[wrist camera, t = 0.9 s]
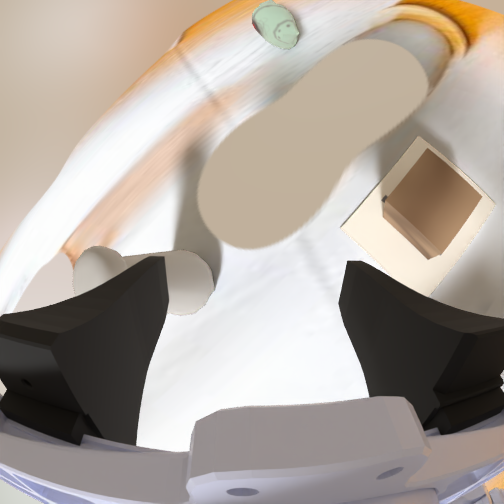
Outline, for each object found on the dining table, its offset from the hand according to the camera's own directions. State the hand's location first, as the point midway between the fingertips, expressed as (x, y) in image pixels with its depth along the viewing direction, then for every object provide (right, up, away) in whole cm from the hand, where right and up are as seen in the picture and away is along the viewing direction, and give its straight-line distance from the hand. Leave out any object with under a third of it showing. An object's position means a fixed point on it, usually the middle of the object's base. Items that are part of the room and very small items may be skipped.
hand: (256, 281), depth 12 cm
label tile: (+14, +4, +9) cm, 17 cm away
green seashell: (+4, +24, +16) cm, 29 cm away
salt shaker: (-5, -2, +17) cm, 18 cm away
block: (+13, +4, +9) cm, 17 cm away
